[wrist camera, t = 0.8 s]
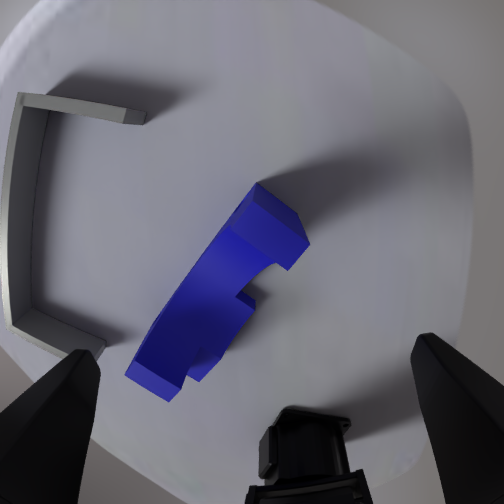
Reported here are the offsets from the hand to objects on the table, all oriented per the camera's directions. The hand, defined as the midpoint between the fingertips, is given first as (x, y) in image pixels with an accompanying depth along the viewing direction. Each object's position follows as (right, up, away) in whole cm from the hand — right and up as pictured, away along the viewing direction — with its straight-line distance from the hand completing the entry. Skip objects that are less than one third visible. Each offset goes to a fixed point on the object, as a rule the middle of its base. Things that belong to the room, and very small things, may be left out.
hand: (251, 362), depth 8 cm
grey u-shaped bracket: (-13, +4, +12) cm, 18 cm away
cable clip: (-2, +1, +13) cm, 13 cm away
